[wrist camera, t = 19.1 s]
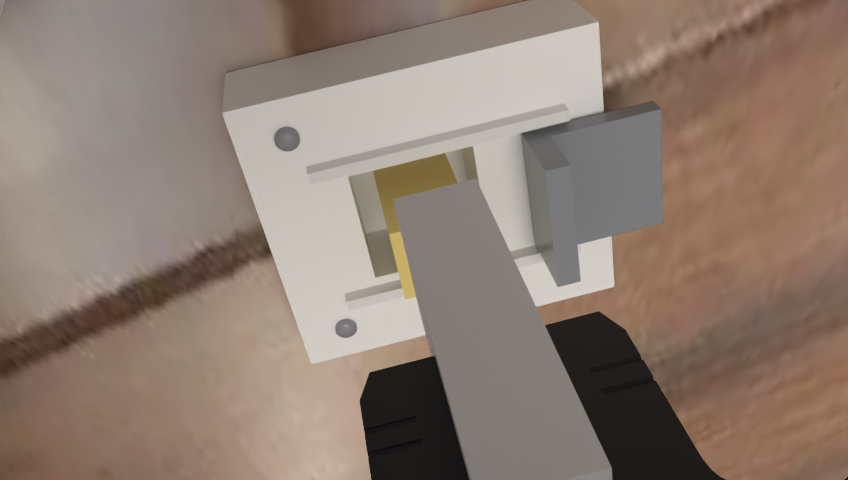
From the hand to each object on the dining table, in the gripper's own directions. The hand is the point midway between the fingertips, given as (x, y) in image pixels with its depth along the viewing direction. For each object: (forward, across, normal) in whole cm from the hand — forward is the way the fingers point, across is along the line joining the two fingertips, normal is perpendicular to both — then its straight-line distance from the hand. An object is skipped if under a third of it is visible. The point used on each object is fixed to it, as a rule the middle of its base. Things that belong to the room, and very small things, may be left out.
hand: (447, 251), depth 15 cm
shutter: (+23, +10, -14) cm, 29 cm away
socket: (+28, +1, -14) cm, 32 cm away
